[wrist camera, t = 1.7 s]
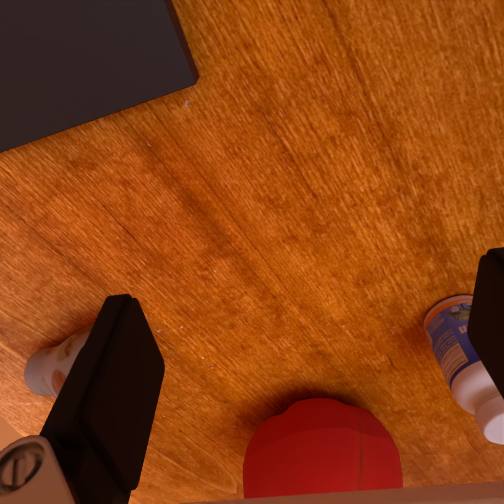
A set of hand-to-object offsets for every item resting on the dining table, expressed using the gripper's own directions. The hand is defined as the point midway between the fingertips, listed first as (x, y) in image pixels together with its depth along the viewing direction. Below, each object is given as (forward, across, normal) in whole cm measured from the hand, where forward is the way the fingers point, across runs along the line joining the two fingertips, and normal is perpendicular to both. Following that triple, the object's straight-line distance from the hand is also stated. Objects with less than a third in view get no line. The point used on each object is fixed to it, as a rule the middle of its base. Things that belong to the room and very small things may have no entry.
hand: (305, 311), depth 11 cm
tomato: (+16, 0, +30) cm, 34 cm away
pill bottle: (+16, -12, +18) cm, 27 cm away
